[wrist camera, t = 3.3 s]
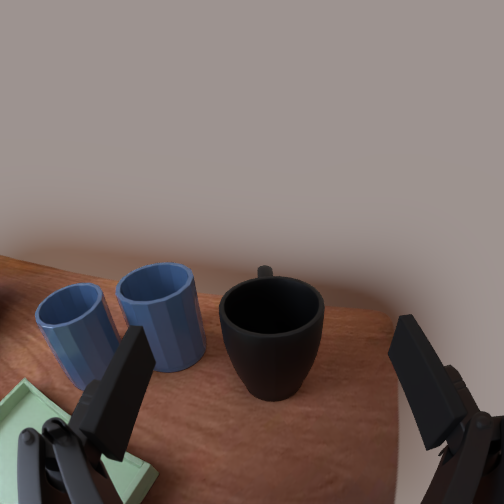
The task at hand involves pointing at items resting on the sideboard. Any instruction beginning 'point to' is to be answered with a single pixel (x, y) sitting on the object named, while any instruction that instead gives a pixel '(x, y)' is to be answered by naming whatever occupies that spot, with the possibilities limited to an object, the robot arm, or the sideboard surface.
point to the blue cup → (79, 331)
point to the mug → (272, 332)
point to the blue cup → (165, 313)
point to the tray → (35, 415)
